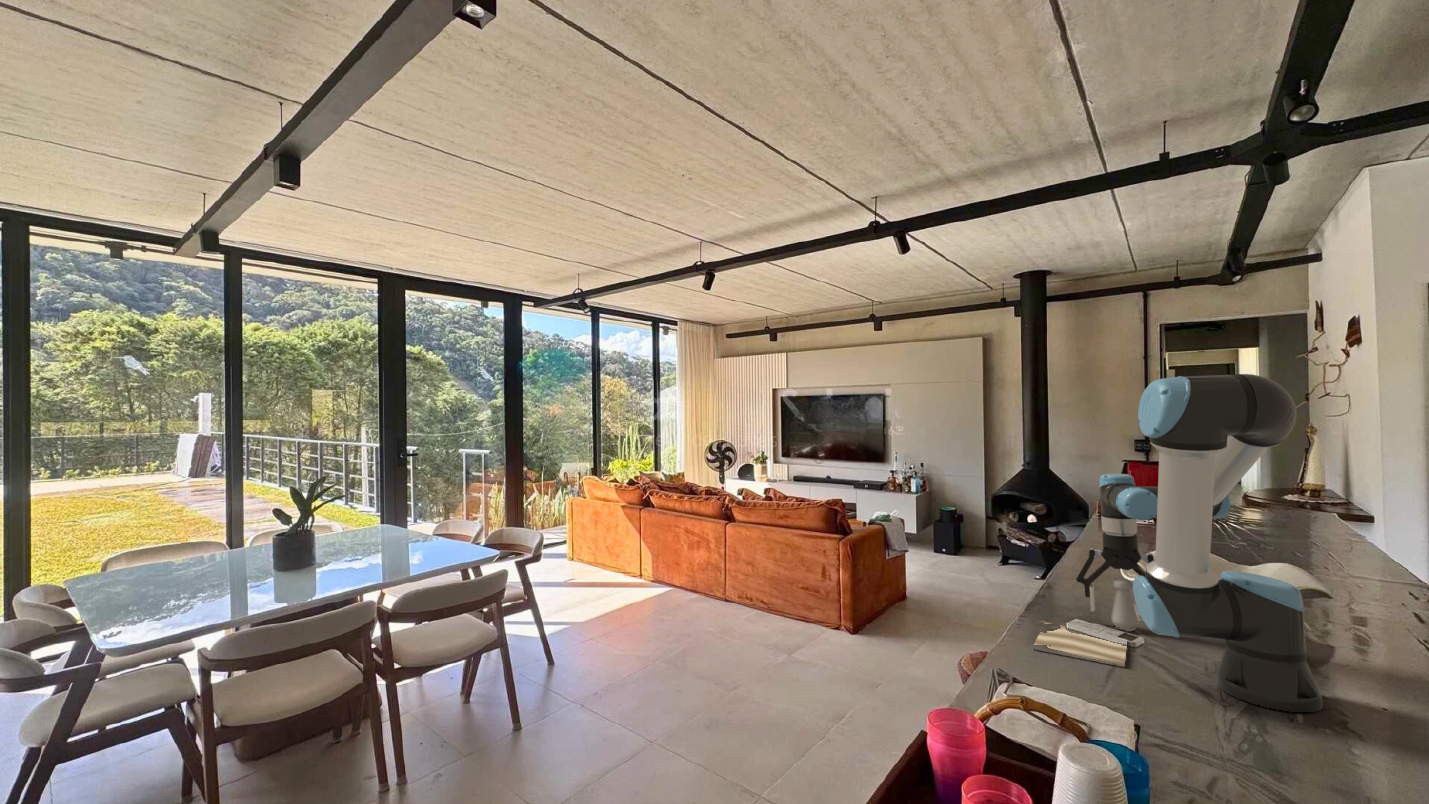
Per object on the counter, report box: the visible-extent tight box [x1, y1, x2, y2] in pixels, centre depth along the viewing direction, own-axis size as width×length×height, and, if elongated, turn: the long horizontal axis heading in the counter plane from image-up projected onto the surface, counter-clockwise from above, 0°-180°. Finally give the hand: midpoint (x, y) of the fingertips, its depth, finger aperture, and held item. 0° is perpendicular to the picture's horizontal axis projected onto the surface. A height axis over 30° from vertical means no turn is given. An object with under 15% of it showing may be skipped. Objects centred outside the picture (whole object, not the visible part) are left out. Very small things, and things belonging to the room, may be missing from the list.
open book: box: [1033, 622, 1128, 666], centre depth 139 cm, size 18×18×1 cm
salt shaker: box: [1110, 577, 1139, 630], centre depth 149 cm, size 6×6×13 cm
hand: (1124, 614), depth 148 cm, fingers open, 13 cm apart
